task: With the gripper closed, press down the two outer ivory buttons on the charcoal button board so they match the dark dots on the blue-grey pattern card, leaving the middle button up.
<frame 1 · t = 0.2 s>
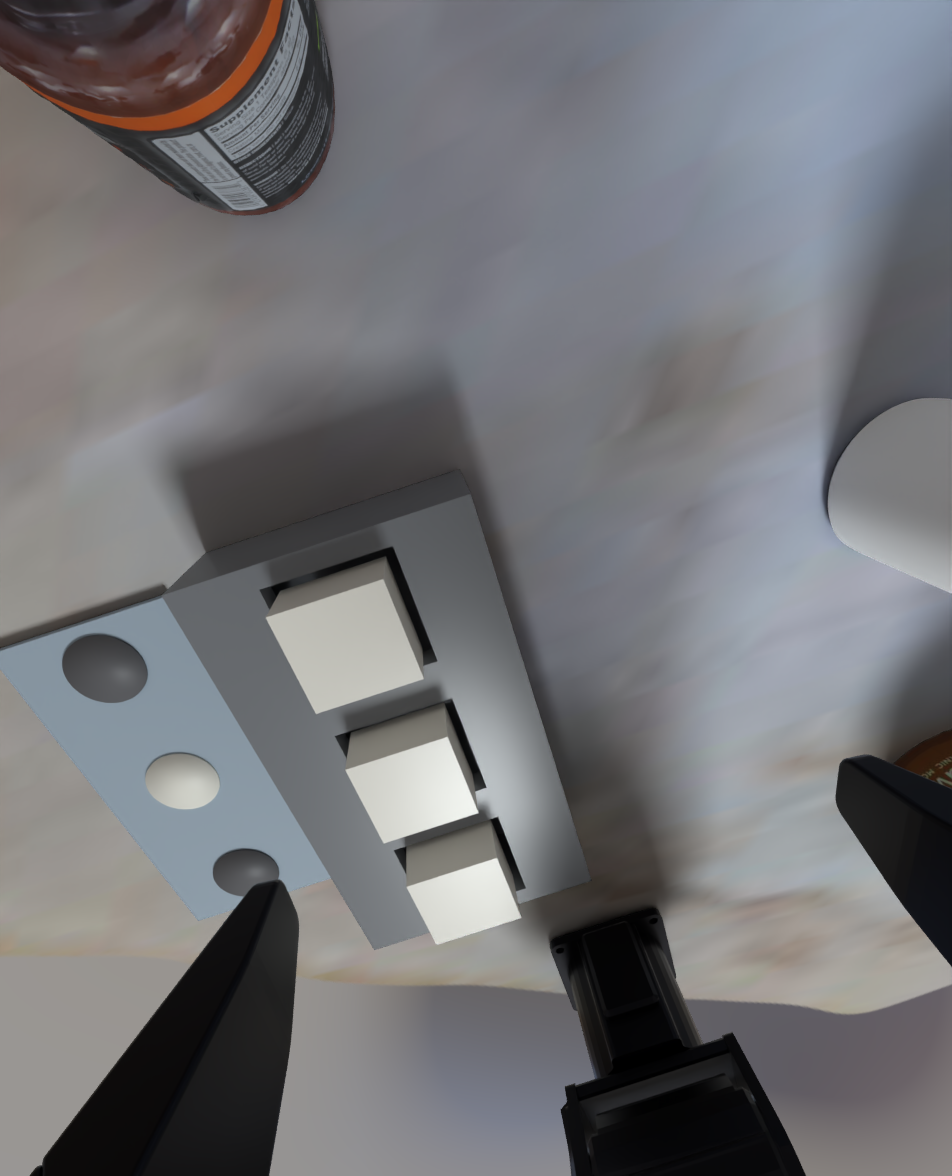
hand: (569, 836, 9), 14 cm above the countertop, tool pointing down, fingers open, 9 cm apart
button middle: (414, 772, 20), point 4 cm above the countertop, slide at 0.0 cm
supplement bottle: (234, 102, 16), on the countertop
button 1: (351, 634, 17), point 4 cm above the countertop, slide at 0.0 cm
button 2: (463, 880, 22), point 4 cm above the countertop, slide at 0.0 cm
food container: (921, 765, 30), on the countertop
button board: (413, 701, 24), on the countertop
can: (891, 478, 23), on the countertop
pattern card: (186, 774, 24), on the countertop
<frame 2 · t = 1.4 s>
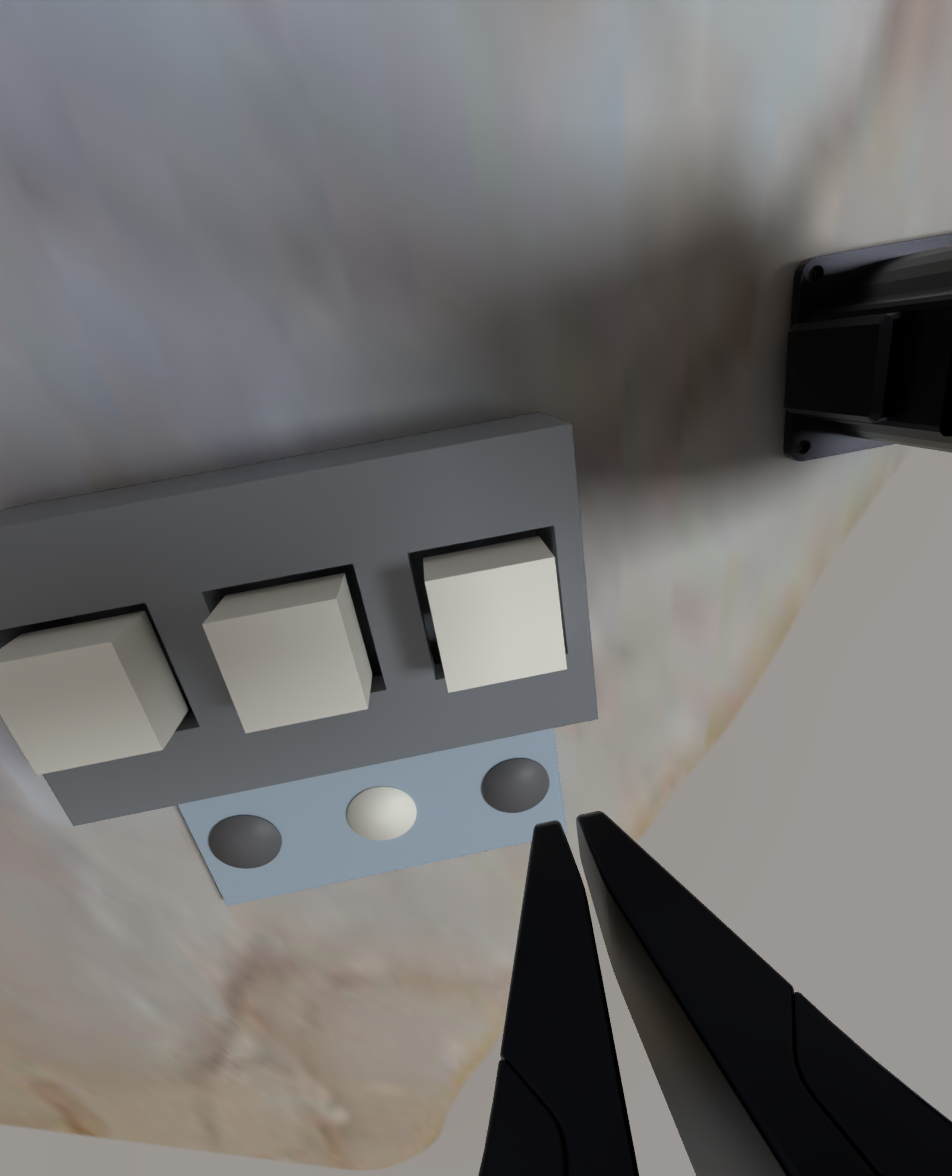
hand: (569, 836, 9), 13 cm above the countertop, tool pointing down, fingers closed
button middle: (296, 651, 16), point 4 cm above the countertop, slide at 0.0 cm
button 1: (91, 691, 16), point 4 cm above the countertop, slide at 0.0 cm
button 2: (494, 613, 16), point 5 cm above the countertop, slide at 0.0 cm
button board: (319, 593, 20), on the countertop
pattern card: (382, 806, 24), on the countertop
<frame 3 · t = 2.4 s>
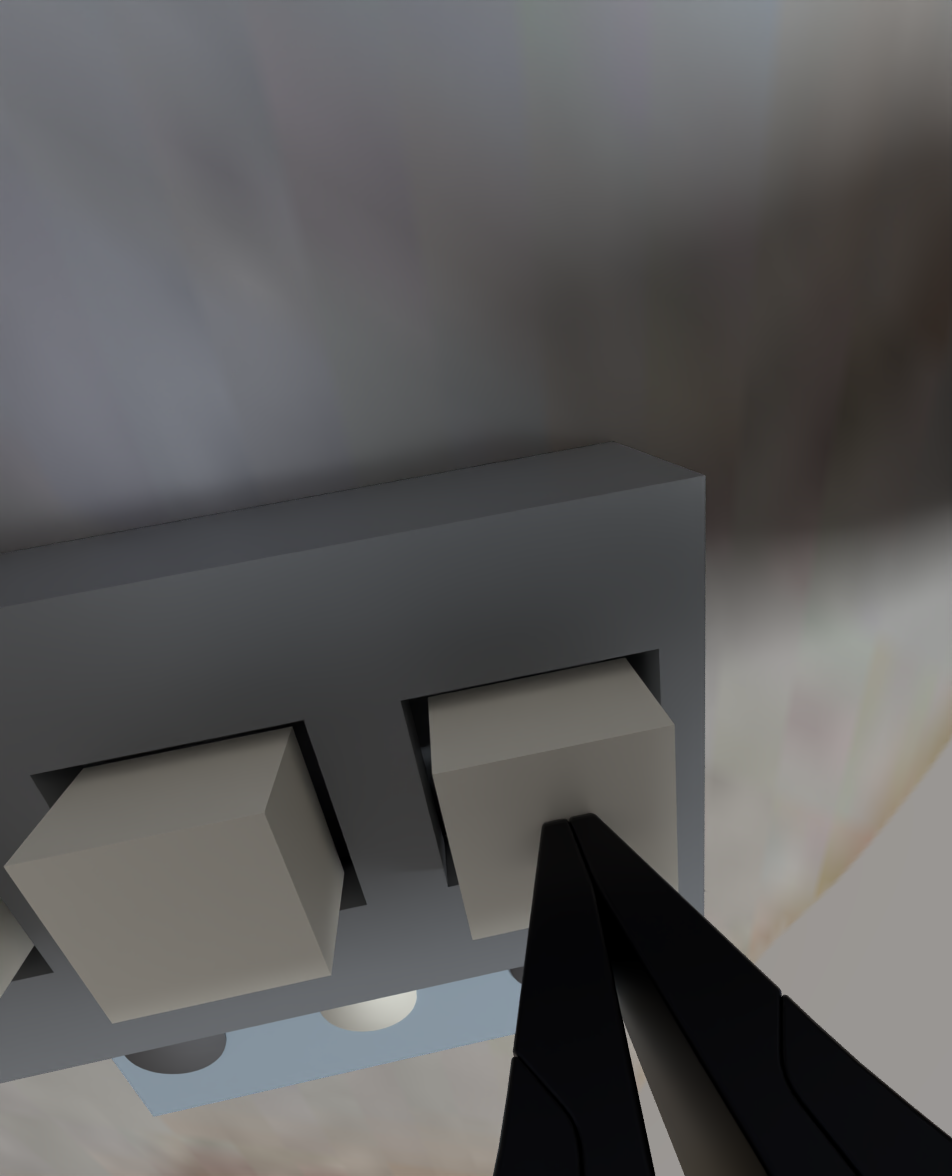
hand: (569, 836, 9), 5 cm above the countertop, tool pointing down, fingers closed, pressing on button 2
button middle: (205, 870, 9), point 4 cm above the countertop, slide at 0.0 cm
button 2: (551, 794, 10), point 4 cm above the countertop, slide at 0.1 cm, touching gripper
button board: (268, 714, 13), on the countertop
pattern card: (369, 984, 17), on the countertop
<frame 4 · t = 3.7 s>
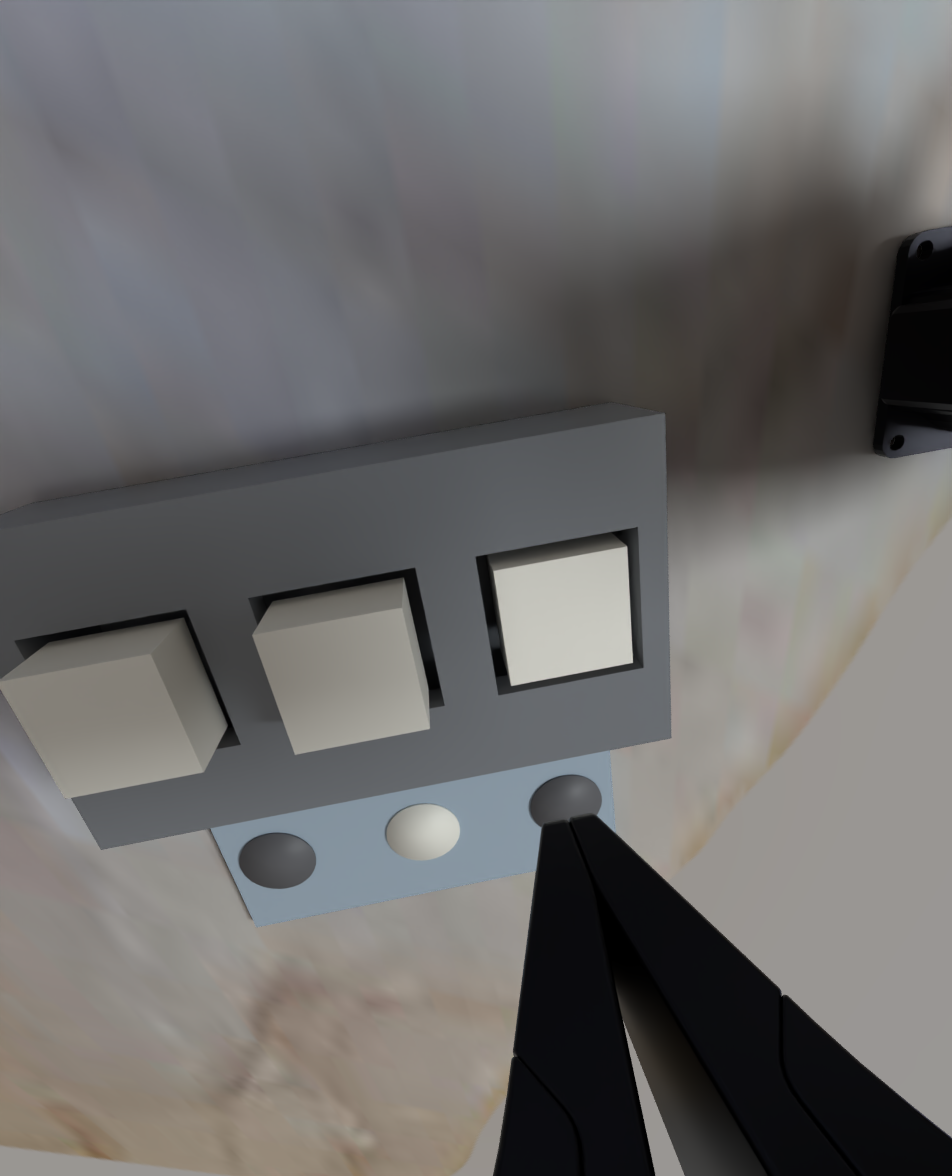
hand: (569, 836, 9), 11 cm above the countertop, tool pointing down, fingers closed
button middle: (350, 664, 15), point 4 cm above the countertop, slide at 0.0 cm
button 1: (125, 706, 14), point 4 cm above the countertop, slide at 0.0 cm
button 2: (558, 604, 16), point 3 cm above the countertop, slide at 1.3 cm
button board: (364, 598, 19), on the countertop
pattern card: (423, 824, 23), on the countertop
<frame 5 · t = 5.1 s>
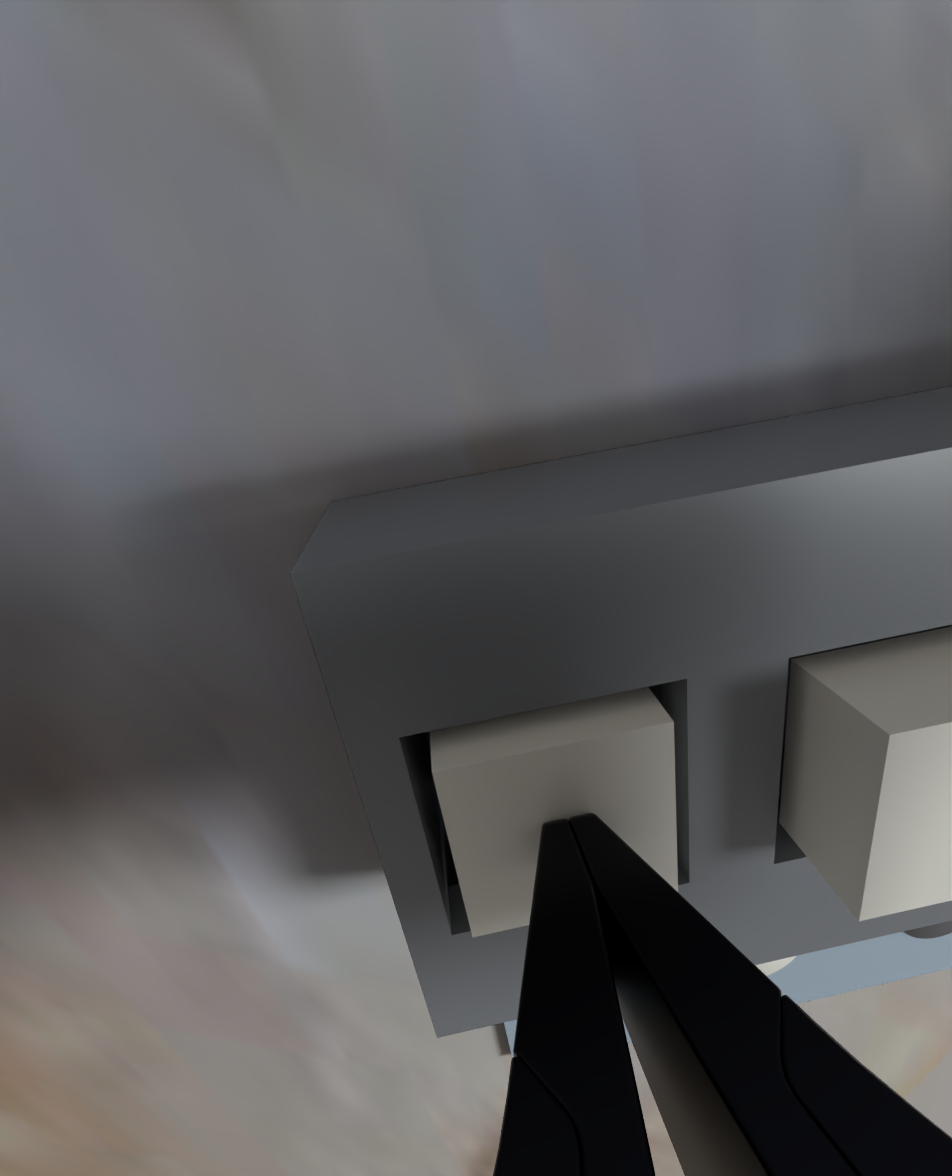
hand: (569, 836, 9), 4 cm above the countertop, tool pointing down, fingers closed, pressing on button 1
button middle: (931, 763, 9), point 4 cm above the countertop, slide at 0.0 cm
button 1: (550, 792, 10), point 3 cm above the countertop, slide at 1.1 cm, touching gripper
button board: (764, 636, 13), on the countertop
pattern card: (749, 931, 17), on the countertop
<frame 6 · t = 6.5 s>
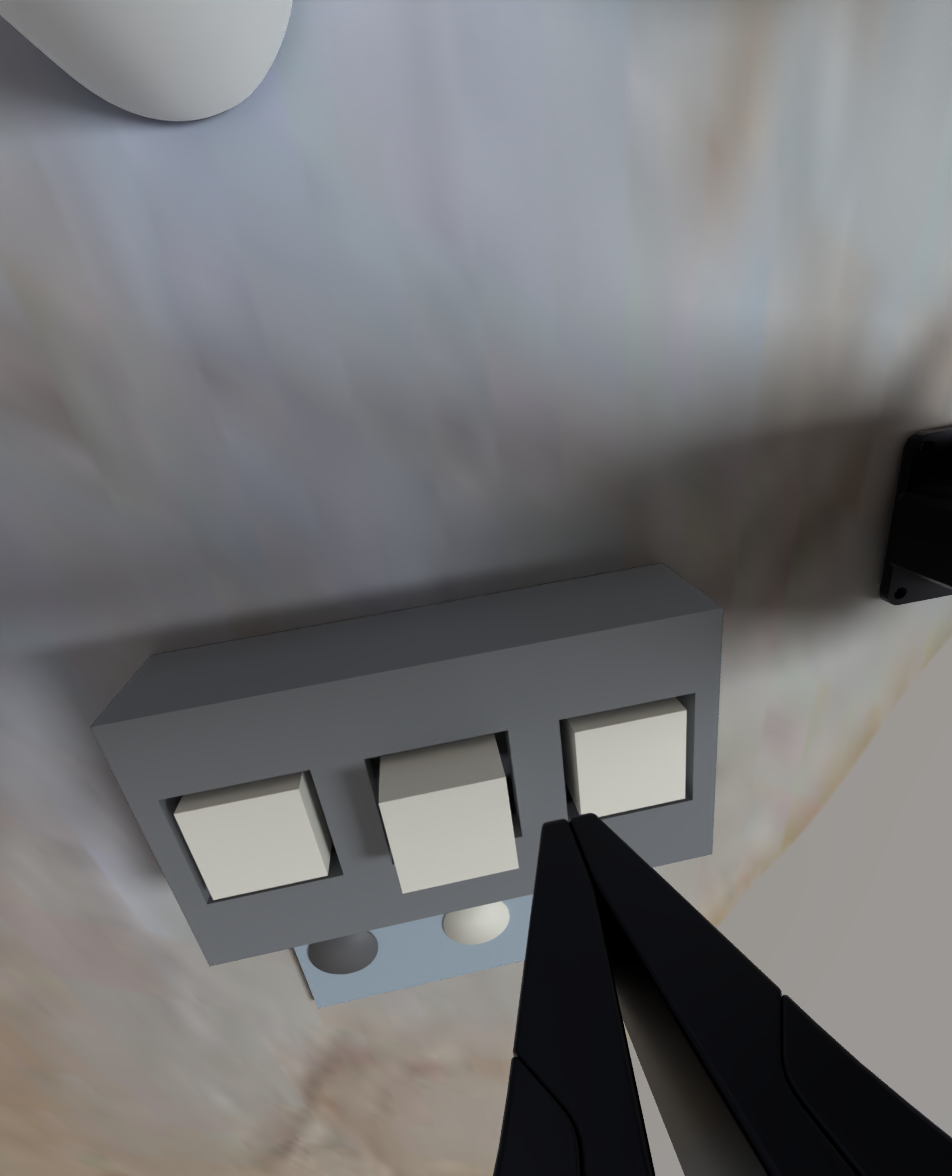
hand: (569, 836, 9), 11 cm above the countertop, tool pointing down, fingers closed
button middle: (449, 811, 17), point 4 cm above the countertop, slide at 0.0 cm
button 1: (261, 821, 18), point 3 cm above the countertop, slide at 1.3 cm
button 2: (620, 747, 19), point 3 cm above the countertop, slide at 1.3 cm
button board: (438, 724, 21), on the countertop
pattern card: (475, 911, 25), on the countertop
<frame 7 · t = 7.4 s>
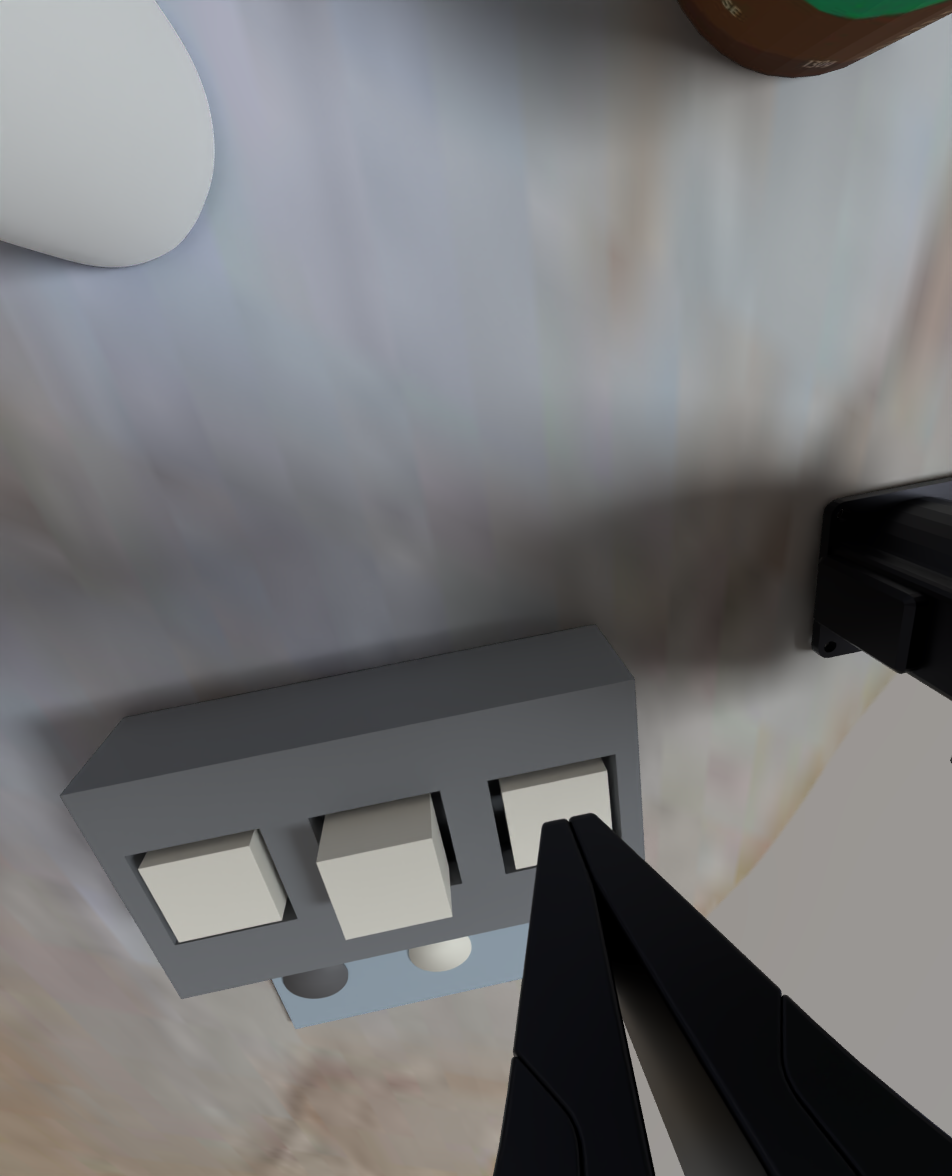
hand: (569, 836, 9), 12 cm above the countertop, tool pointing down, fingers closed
button middle: (388, 864, 18), point 4 cm above the countertop, slide at 0.0 cm
button 1: (222, 870, 19), point 3 cm above the countertop, slide at 1.3 cm
button 2: (553, 800, 20), point 3 cm above the countertop, slide at 1.3 cm
button board: (392, 773, 23), on the countertop
can: (91, 129, 14), on the countertop
pattern card: (439, 940, 27), on the countertop
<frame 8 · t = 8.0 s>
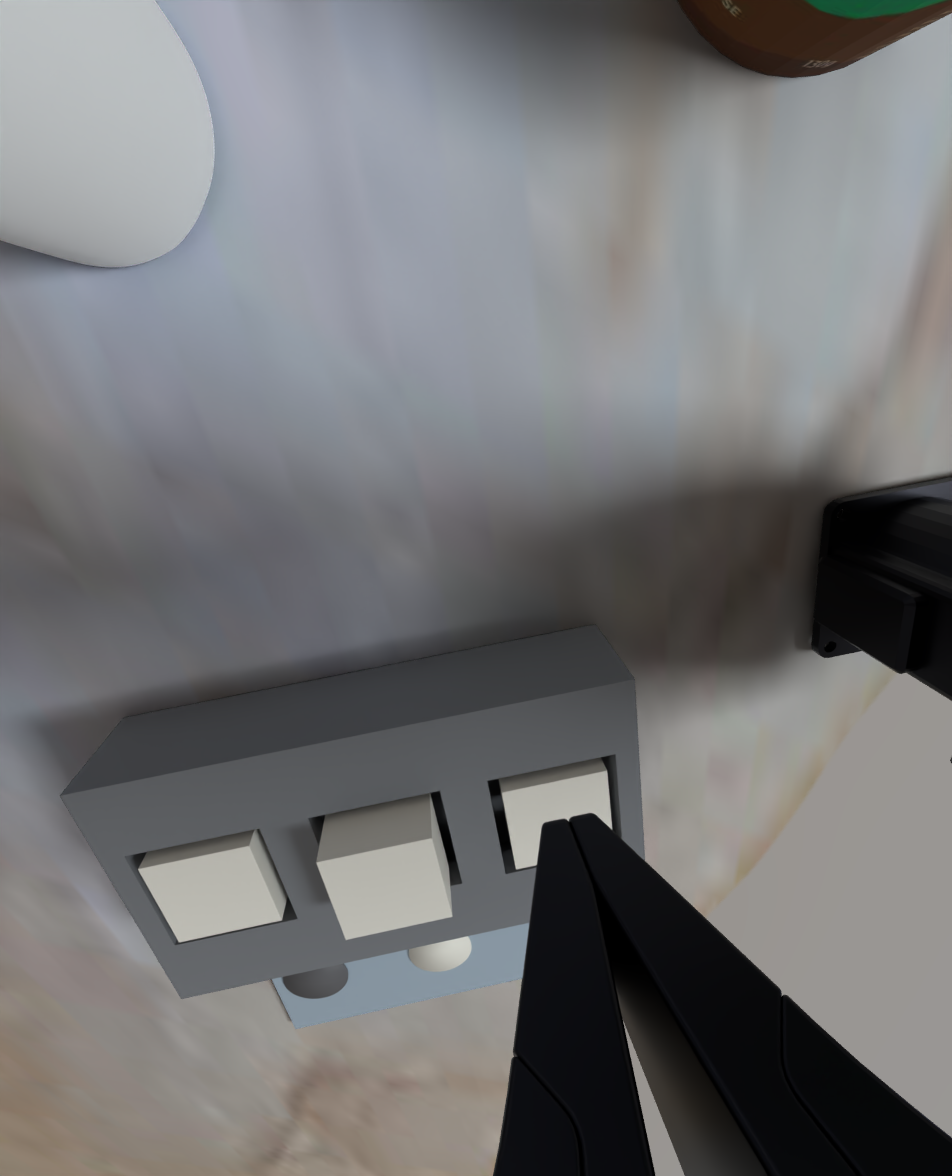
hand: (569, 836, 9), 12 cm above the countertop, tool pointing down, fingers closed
button middle: (388, 864, 18), point 4 cm above the countertop, slide at 0.0 cm
button 1: (222, 870, 19), point 3 cm above the countertop, slide at 1.3 cm
button 2: (553, 800, 20), point 3 cm above the countertop, slide at 1.3 cm
button board: (392, 773, 23), on the countertop
can: (91, 129, 14), on the countertop
pattern card: (439, 940, 27), on the countertop
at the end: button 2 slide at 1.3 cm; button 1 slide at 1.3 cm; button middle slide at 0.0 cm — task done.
